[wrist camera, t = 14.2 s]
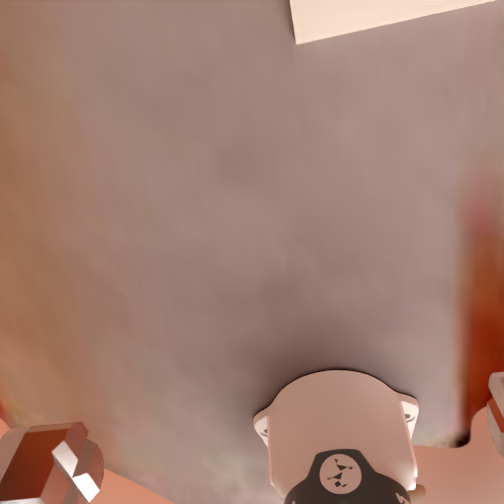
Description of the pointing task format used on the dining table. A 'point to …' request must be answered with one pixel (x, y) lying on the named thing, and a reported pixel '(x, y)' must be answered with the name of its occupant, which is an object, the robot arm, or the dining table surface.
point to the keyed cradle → (360, 14)
